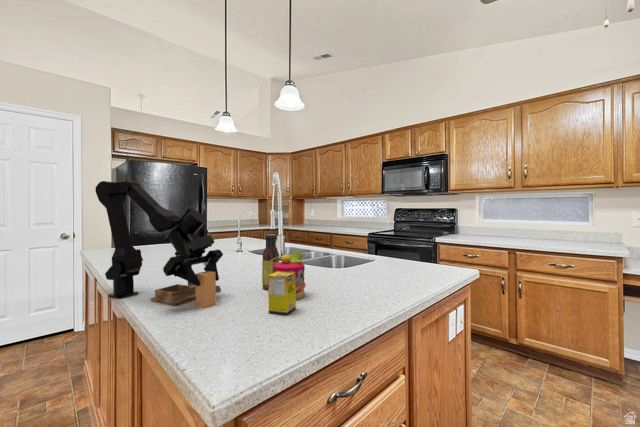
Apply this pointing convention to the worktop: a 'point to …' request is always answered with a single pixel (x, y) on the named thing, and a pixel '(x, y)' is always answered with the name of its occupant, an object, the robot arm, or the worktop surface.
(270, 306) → the supplement box
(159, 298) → the housing
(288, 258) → the cake
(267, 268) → the sauce bottle
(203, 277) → the block
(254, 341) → the worktop surface
